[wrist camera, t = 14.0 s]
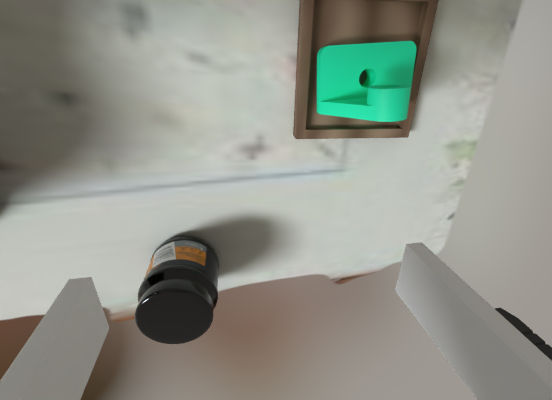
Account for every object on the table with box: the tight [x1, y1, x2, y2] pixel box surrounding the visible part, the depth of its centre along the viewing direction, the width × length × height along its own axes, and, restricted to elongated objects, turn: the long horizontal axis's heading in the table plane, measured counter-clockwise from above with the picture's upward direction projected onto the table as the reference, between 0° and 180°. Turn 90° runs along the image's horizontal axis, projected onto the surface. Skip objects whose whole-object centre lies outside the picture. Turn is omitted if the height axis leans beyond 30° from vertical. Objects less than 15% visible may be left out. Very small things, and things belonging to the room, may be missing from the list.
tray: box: [293, 0, 438, 139], centre depth 37 cm, size 16×17×2 cm
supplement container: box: [135, 236, 219, 344], centre depth 42 cm, size 10×10×12 cm
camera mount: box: [317, 41, 416, 122], centre depth 33 cm, size 12×8×10 cm, turn 93°
